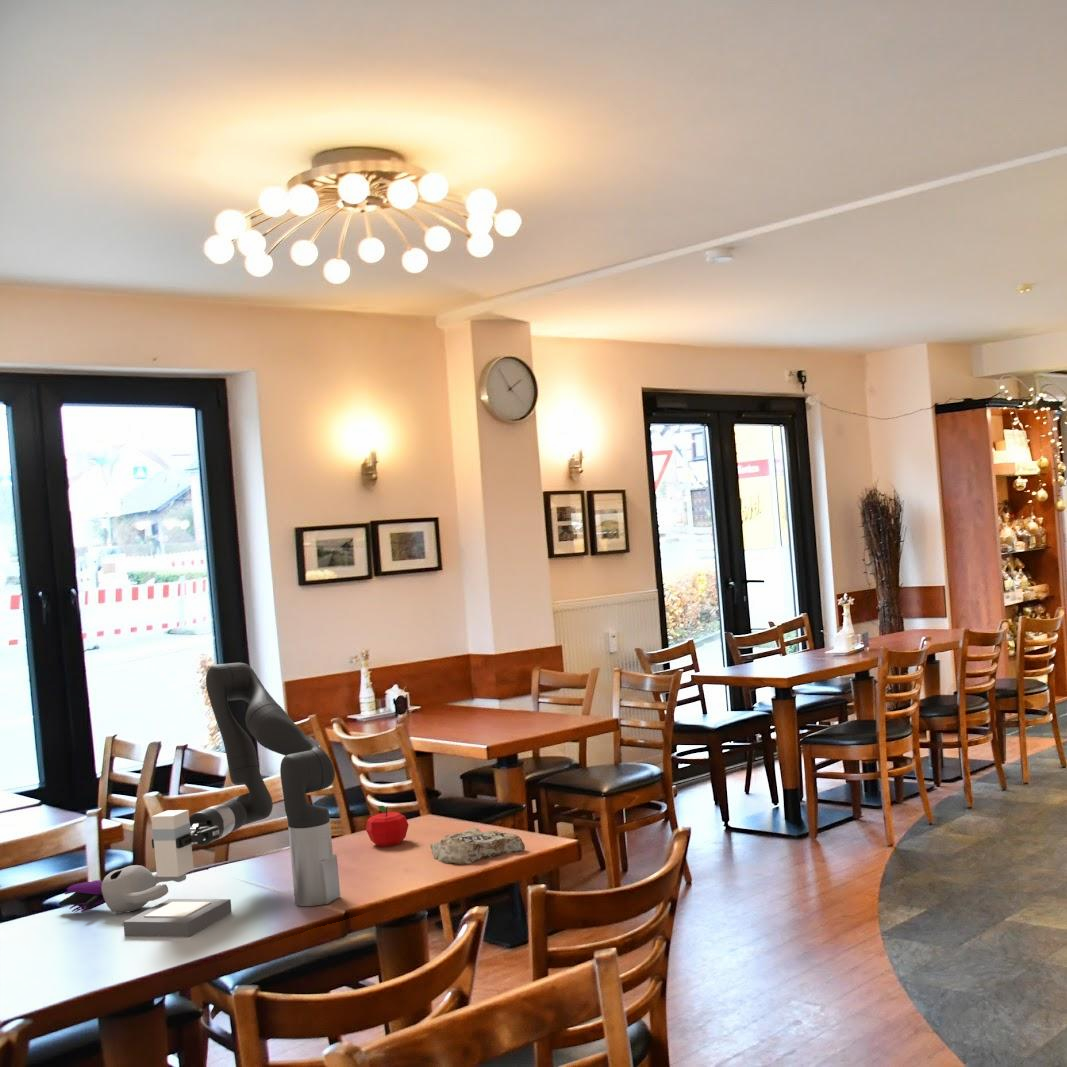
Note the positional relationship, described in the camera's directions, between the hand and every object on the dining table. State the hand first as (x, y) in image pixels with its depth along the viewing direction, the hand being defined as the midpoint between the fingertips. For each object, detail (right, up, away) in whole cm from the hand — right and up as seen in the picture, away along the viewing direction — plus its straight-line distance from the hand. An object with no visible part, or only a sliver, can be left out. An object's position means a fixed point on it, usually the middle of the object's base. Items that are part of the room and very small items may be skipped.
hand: (165, 843), depth 258 cm
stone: (+62, -14, +42) cm, 77 cm away
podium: (+2, -18, +1) cm, 18 cm away
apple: (+41, -16, +59) cm, 74 cm away
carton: (+1, -7, +2) cm, 7 cm away
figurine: (-16, -20, +17) cm, 31 cm away
